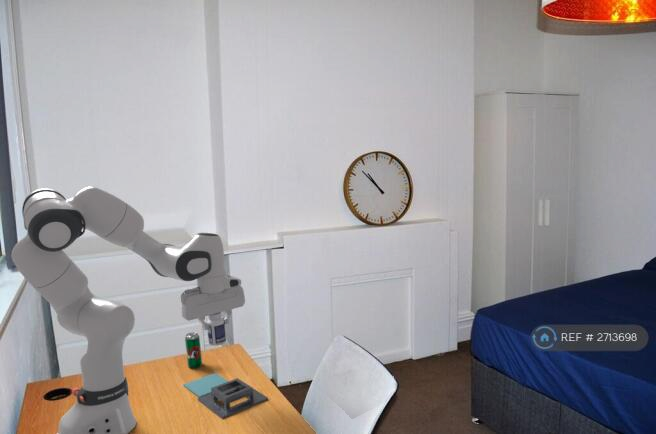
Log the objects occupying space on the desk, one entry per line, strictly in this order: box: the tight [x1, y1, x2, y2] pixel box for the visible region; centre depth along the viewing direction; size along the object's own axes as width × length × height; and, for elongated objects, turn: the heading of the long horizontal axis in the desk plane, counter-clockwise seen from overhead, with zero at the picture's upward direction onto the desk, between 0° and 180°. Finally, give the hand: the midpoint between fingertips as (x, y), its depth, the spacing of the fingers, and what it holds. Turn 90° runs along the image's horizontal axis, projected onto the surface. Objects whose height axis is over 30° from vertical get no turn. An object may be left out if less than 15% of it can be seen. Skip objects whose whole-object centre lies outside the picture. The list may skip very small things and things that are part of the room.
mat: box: [182, 372, 230, 398], centre depth 179 cm, size 12×12×1 cm
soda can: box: [184, 331, 203, 369], centre depth 195 cm, size 5×5×12 cm
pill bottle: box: [206, 312, 227, 347], centre depth 169 cm, size 5×5×10 cm
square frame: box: [197, 378, 269, 420], centre depth 168 cm, size 16×16×4 cm
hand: (216, 326), depth 169 cm, fingers closed on pill bottle, 5 cm apart
